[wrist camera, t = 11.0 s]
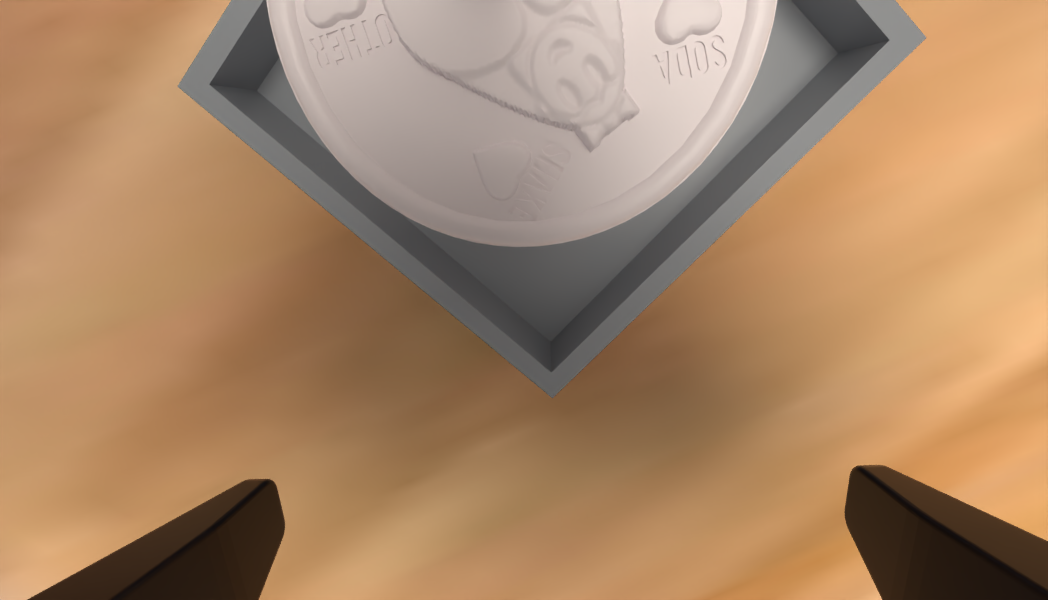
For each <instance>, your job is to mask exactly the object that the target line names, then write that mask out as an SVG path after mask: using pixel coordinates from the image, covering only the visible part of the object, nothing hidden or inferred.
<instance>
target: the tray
mask: <svg viewBox="0 0 1048 600" xmlns="http://www.w3.org/2000/svg"><path fill="white" fill-rule="evenodd" d="M925 39H926V37H925V35H924V34H923V33H922V32H921V31H920V29H919V28H918V27H917V26H916V25H915V23H914V22H913V21H912V20H911V19H910V18H909V16H908V15H907V14H906V13H905V12H904V10H903V9H902V8H901V7H900V6H899V4H898V3H897V2H896V1H895V0H777V6H776V11H775V17H774V22H773V26H772V30H771V34H770V37H769V41H768V45H767V49H766V52H765V54H764V57H763V60H762V63H761V65H760V68H759V71H758V74H757V76H756V78H755V80H754V83H753V85H752V87H751V89H750V91H749V93H748V96H747V98H746V100H745V102H744V103H743V105H742V107H741V109H740V110H739V112H738V114H737V116H736V117H735V119H734V121H733V123H732V124H731V126H730V127H729V129H728V130H727V131H726V133H725V134H724V136H723V137H722V139H721V140H720V141H719V143H718V144H717V146H716V147H715V148H714V149H713V150H712V152H711V153H710V154H709V155H708V156H707V158H706V159H705V160H704V161H703V162H702V164H701V165H700V166H699V167H698V168H697V169H696V170H695V171H694V172H693V173H692V174H691V175H690V176H689V177H688V178H687V179H686V180H685V181H684V182H682V183H681V184H680V185H679V186H678V187H676V188H675V189H674V190H673V191H672V192H670V193H669V194H668V195H667V196H666V197H664V198H663V199H661V200H660V201H658V202H657V203H656V204H654V205H653V206H651V207H650V208H648V209H647V210H645V211H644V212H642V213H640V214H638V215H637V216H635V217H633V218H631V219H629V220H628V221H626V222H624V223H622V224H619V225H617V226H615V227H613V228H610V229H608V230H606V231H603V232H600V233H597V234H594V235H591V236H588V237H585V238H582V239H578V240H574V241H569V242H565V243H560V244H552V245H545V246H532V247H509V246H494V245H488V244H482V243H475V242H471V241H467V240H463V239H459V238H455V237H452V236H449V235H446V234H443V233H441V232H438V231H435V230H432V229H430V228H428V227H426V226H424V225H422V224H420V223H417V222H415V221H413V220H411V219H409V218H408V217H406V216H404V215H403V214H401V213H399V212H398V211H396V210H394V209H393V208H391V207H390V206H388V205H387V204H385V203H384V202H383V201H381V200H380V199H378V198H377V197H376V196H374V195H373V194H372V193H371V192H369V191H368V190H367V189H366V188H365V187H364V186H363V185H361V184H360V183H359V182H358V181H357V180H356V179H355V178H354V177H353V176H352V175H351V174H350V173H349V172H348V171H347V170H346V169H345V168H344V167H343V166H342V165H341V164H340V163H339V162H338V161H337V159H336V158H335V157H334V156H333V154H332V153H331V152H330V151H329V149H328V148H327V147H326V146H325V144H324V143H323V142H322V140H321V139H320V137H319V136H318V134H317V133H316V131H315V130H314V128H313V127H312V125H311V124H310V122H309V121H308V119H307V117H306V115H305V114H304V112H303V110H302V108H301V106H300V105H299V103H298V101H297V99H296V97H295V95H294V92H293V90H292V88H291V86H290V83H289V81H288V79H287V77H286V74H285V72H284V69H283V66H282V63H281V60H280V57H279V54H278V51H277V48H276V44H275V40H274V37H273V33H272V29H271V25H270V20H269V14H268V8H267V2H266V0H231V2H230V3H229V5H228V7H227V8H226V10H225V11H224V13H223V15H222V16H221V18H220V19H219V21H218V23H217V24H216V26H215V27H214V29H213V31H212V32H211V34H210V35H209V37H208V39H207V40H206V42H205V43H204V45H203V47H202V48H201V50H200V51H199V53H198V55H197V56H196V58H195V59H194V61H193V63H192V64H191V66H190V67H189V69H188V71H187V72H186V74H185V75H184V77H183V79H182V80H181V82H180V83H179V85H178V87H179V88H180V89H181V90H182V91H184V92H185V93H186V94H187V95H188V96H190V97H191V98H192V99H193V100H194V101H196V102H197V103H198V104H199V105H200V106H202V107H203V108H204V109H205V110H206V111H208V112H209V113H210V114H211V115H212V116H214V117H215V118H216V119H217V120H218V121H220V122H221V123H222V124H223V125H224V126H226V127H227V128H228V129H229V130H230V131H232V132H233V133H234V134H235V135H236V136H238V137H239V138H240V139H241V140H242V141H244V142H245V143H246V144H247V145H249V146H250V147H251V148H252V149H253V150H255V151H256V152H257V153H258V154H259V155H261V156H262V157H263V158H264V159H265V160H267V161H268V162H269V163H270V164H271V165H273V166H274V167H275V168H276V169H277V170H279V171H280V172H281V173H282V174H283V175H285V176H286V177H287V178H288V179H289V180H291V181H292V182H293V183H294V184H295V185H297V186H298V187H299V188H300V189H301V190H303V191H304V192H305V193H306V194H307V195H309V196H310V197H311V198H312V199H313V200H315V201H316V202H317V203H318V204H319V205H321V206H322V207H323V208H324V209H325V210H327V211H328V212H329V213H330V214H331V215H333V216H334V217H335V218H336V219H337V220H339V221H340V222H341V223H342V224H344V225H345V226H346V227H347V228H348V229H350V230H351V231H352V232H353V233H354V234H356V235H357V236H358V237H359V238H360V239H362V240H363V241H364V242H365V243H366V244H368V245H369V246H370V247H371V248H372V249H374V250H375V251H376V252H377V253H378V254H380V255H381V256H382V257H383V258H384V259H386V260H387V261H388V262H389V263H390V264H392V265H393V266H394V267H395V268H396V269H398V270H399V271H400V272H401V273H402V274H404V275H405V276H406V277H407V278H408V279H410V280H411V281H412V282H413V283H414V284H416V285H417V286H418V287H419V288H420V289H422V290H423V291H424V292H425V293H426V294H428V295H429V296H430V297H431V298H432V299H434V300H435V301H436V302H437V303H439V304H440V305H441V306H442V307H443V308H445V309H446V310H447V311H448V312H449V313H451V314H452V315H453V316H454V317H455V318H457V319H458V320H459V321H460V322H461V323H463V324H464V325H465V326H466V327H467V328H469V329H470V330H471V331H472V332H473V333H475V334H476V335H477V336H478V337H479V338H481V339H482V340H483V341H484V342H485V343H487V344H488V345H489V346H490V347H491V348H493V349H494V350H495V351H496V352H497V353H499V354H500V355H501V356H502V357H503V358H505V359H506V360H507V361H508V362H509V363H511V364H512V365H513V366H514V367H515V368H517V369H518V370H519V371H520V372H521V373H523V374H524V375H525V376H526V377H527V378H529V379H530V380H531V381H532V382H534V383H535V384H536V385H537V386H538V387H540V388H541V389H542V390H543V391H544V392H546V393H547V394H548V395H549V396H550V397H552V398H553V397H554V396H555V395H556V394H557V393H558V392H559V391H560V390H562V389H563V388H564V387H565V386H566V385H567V384H568V383H569V382H570V381H571V380H572V379H573V378H574V377H575V376H576V375H577V374H578V373H579V372H580V371H581V370H582V369H583V368H584V367H585V366H586V365H587V364H588V363H590V362H591V361H592V360H593V359H594V358H595V357H596V356H597V355H598V354H599V353H600V352H601V351H602V350H603V349H604V348H605V347H606V346H607V345H608V344H609V343H610V342H611V341H612V340H613V339H614V338H615V337H617V336H618V335H619V334H620V333H621V332H622V331H623V330H624V329H625V328H626V327H627V326H628V325H629V324H630V323H631V322H632V321H633V320H634V319H635V318H636V317H637V316H638V315H639V314H640V313H641V312H642V311H643V310H645V309H646V308H647V307H648V306H649V305H650V304H651V303H652V302H653V301H654V300H655V299H656V298H657V297H658V296H659V295H660V294H661V293H662V292H663V291H664V290H665V289H666V288H667V287H668V286H669V285H670V284H671V283H673V282H674V281H675V280H676V279H677V278H678V277H679V276H680V275H681V274H682V273H683V272H684V271H685V270H686V269H687V268H688V267H689V266H690V265H691V264H692V263H693V262H694V261H695V260H696V259H697V258H698V257H700V256H701V255H702V254H703V253H704V252H705V251H706V250H707V249H708V248H709V247H710V246H711V245H712V244H713V243H714V242H715V241H716V240H717V239H718V238H719V237H720V236H721V235H722V234H723V233H724V232H725V231H726V230H728V229H729V228H730V227H731V226H732V225H733V224H734V223H735V222H736V221H737V220H738V219H739V218H740V217H741V216H742V215H743V214H744V213H745V212H746V211H747V210H748V209H749V208H750V207H751V206H752V205H753V204H754V203H756V202H757V201H758V200H759V199H760V198H761V197H762V196H763V195H764V194H765V193H766V192H767V191H768V190H769V189H770V188H771V187H772V186H773V185H774V184H775V183H776V182H777V181H778V180H779V179H780V178H781V177H783V176H784V175H785V174H786V173H787V172H788V171H789V170H790V169H791V168H792V167H793V166H794V165H795V164H796V163H797V162H798V161H799V160H800V159H801V158H802V157H803V156H804V155H805V154H806V153H807V152H808V151H809V150H811V149H812V148H813V147H814V146H815V145H816V144H817V143H818V142H819V141H820V140H821V139H822V138H823V137H824V136H825V135H826V134H827V133H828V132H829V131H830V130H831V129H832V128H833V127H834V126H835V125H836V124H837V123H839V122H840V121H841V120H842V119H843V118H844V117H845V116H846V115H847V114H848V113H849V112H850V111H851V110H852V109H853V108H854V107H855V106H856V105H857V104H858V103H859V102H860V101H861V100H862V99H863V98H864V97H866V96H867V95H868V94H869V93H870V92H871V91H872V90H873V89H874V88H875V87H876V86H877V85H878V84H879V83H880V82H881V81H882V80H883V79H884V78H885V77H886V76H887V75H888V74H889V73H890V72H891V71H892V70H894V69H895V68H896V67H897V66H898V65H899V64H900V63H901V62H902V61H903V60H904V59H905V58H906V57H907V56H908V55H909V54H910V53H911V52H912V51H913V50H914V49H915V48H916V47H917V46H918V45H919V44H920V43H922V42H923V41H924V40H925Z"/></svg>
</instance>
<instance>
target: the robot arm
mask: <svg viewBox="0 0 1048 600" xmlns="http://www.w3.org/2000/svg"><path fill="white" fill-rule="evenodd" d="M845 520H846V524H847V527H848V529H849V532H850V534H851V536H852V538H853V540H854V542H855V544H856V546H857V548H858V550H859V552H860V554H861V556H862V558H863V561H864V563H865V565H866V567H867V569H868V571H869V573H870V575H871V577H872V579H873V581H874V583H875V585H876V587H877V590H878V592H879V594H880V596H881V598H882V600H1048V541H1046V540H1044V539H1042V538H1040V537H1037V536H1035V535H1033V534H1031V533H1029V532H1027V531H1024V530H1022V529H1020V528H1018V527H1016V526H1014V525H1012V524H1009V523H1007V522H1005V521H1003V520H1001V519H999V518H996V517H994V516H992V515H990V514H988V513H986V512H984V511H981V510H979V509H977V508H975V507H973V506H971V505H968V504H966V503H964V502H962V501H960V500H958V499H956V498H953V497H951V496H949V495H947V494H945V493H943V492H940V491H938V490H936V489H934V488H932V487H930V486H927V485H925V484H923V483H921V482H919V481H917V480H915V479H912V478H910V477H908V476H906V475H904V474H902V473H899V472H897V471H895V470H893V469H891V468H889V467H886V466H883V465H864V466H856V467H854V468H853V469H852V471H851V473H850V478H849V485H848V491H847V498H846V505H845ZM284 530H285V520H284V516H283V511H282V507H281V503H280V498H279V494H278V490H277V486H276V484H275V483H274V481H272V480H270V479H249V480H245V481H243V482H241V483H239V484H237V485H235V486H234V487H232V488H230V489H228V490H226V491H225V492H223V493H221V494H219V495H217V496H215V497H214V498H212V499H210V500H208V501H206V502H204V503H203V504H201V505H199V506H197V507H195V508H194V509H192V510H190V511H188V512H186V513H184V514H183V515H181V516H179V517H177V518H175V519H174V520H172V521H170V522H168V523H166V524H164V525H163V526H161V527H159V528H157V529H155V530H153V531H152V532H150V533H148V534H146V535H144V536H143V537H141V538H139V539H137V540H135V541H133V542H132V543H130V544H128V545H126V546H124V547H122V548H121V549H119V550H117V551H115V552H113V553H112V554H110V555H108V556H106V557H104V558H102V559H101V560H99V561H97V562H95V563H93V564H92V565H90V566H88V567H86V568H84V569H82V570H81V571H79V572H77V573H75V574H73V575H71V576H70V577H68V578H66V579H64V580H62V581H61V582H59V583H57V584H55V585H53V586H51V587H50V588H48V589H46V590H44V591H42V592H40V593H39V594H37V595H35V596H33V597H31V598H30V599H28V600H259V597H260V595H261V592H262V590H263V587H264V585H265V582H266V580H267V577H268V574H269V572H270V569H271V567H272V564H273V562H274V559H275V557H276V554H277V551H278V549H279V546H280V544H281V541H282V538H283V535H284Z"/></svg>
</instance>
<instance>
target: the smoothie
mask: <svg viewBox="0 0 1048 600" xmlns="http://www.w3.org/2000/svg"><path fill="white" fill-rule="evenodd" d="M266 2H267V8H268V14H269V20H270V25H271V29H272V33H273V37H274V40H275V44H276V48H277V51H278V54H279V57H280V60H281V63H282V66H283V69H284V72H285V74H286V77H287V79H288V81H289V83H290V86H291V88H292V90H293V92H294V95H295V97H296V99H297V101H298V103H299V105H300V106H301V108H302V110H303V112H304V114H305V115H306V117H307V119H308V121H309V122H310V124H311V125H312V127H313V128H314V130H315V131H316V133H317V134H318V136H319V137H320V139H321V140H322V142H323V143H324V144H325V146H326V147H327V148H328V149H329V151H330V152H331V153H332V154H333V156H334V157H335V158H336V159H337V161H338V162H339V163H340V164H341V165H342V166H343V167H344V168H345V169H346V170H347V171H348V172H349V173H350V174H351V175H352V176H353V177H354V178H355V179H356V180H357V181H358V182H359V183H360V184H361V185H363V186H364V187H365V188H366V189H367V190H368V191H369V192H371V193H372V194H373V195H374V196H376V197H377V198H378V199H380V200H381V201H383V202H384V203H385V204H387V205H388V206H390V207H391V208H393V209H394V210H396V211H398V212H399V213H401V214H403V215H404V216H406V217H408V218H409V219H411V220H413V221H415V222H417V223H420V224H422V225H424V226H426V227H428V228H430V229H432V230H435V231H438V232H441V233H443V234H446V235H449V236H452V237H455V238H459V239H463V240H467V241H471V242H475V243H482V244H488V245H494V246H509V247H532V246H545V245H552V244H560V243H565V242H569V241H574V240H578V239H582V238H585V237H588V236H591V235H594V234H597V233H600V232H603V231H606V230H608V229H610V228H613V227H615V226H617V225H619V224H622V223H624V222H626V221H628V220H629V219H631V218H633V217H635V216H637V215H638V214H640V213H642V212H644V211H645V210H647V209H648V208H650V207H651V206H653V205H654V204H656V203H657V202H658V201H660V200H661V199H663V198H664V197H666V196H667V195H668V194H669V193H670V192H672V191H673V190H674V189H675V188H676V187H678V186H679V185H680V184H681V183H682V182H684V181H685V180H686V179H687V178H688V177H689V176H690V175H691V174H692V173H693V172H694V171H695V170H696V169H697V168H698V167H699V166H700V165H701V164H702V162H703V161H704V160H705V159H706V158H707V156H708V155H709V154H710V153H711V152H712V150H713V149H714V148H715V147H716V146H717V144H718V143H719V141H720V140H721V139H722V137H723V136H724V134H725V133H726V131H727V130H728V129H729V127H730V126H731V124H732V123H733V121H734V119H735V117H736V116H737V114H738V112H739V110H740V109H741V107H742V105H743V103H744V102H745V100H746V98H747V96H748V93H749V91H750V89H751V87H752V85H753V83H754V80H755V78H756V76H757V74H758V71H759V68H760V65H761V63H762V60H763V57H764V54H765V52H766V49H767V45H768V41H769V37H770V34H771V30H772V26H773V22H774V17H775V11H776V6H777V0H266Z"/></svg>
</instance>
